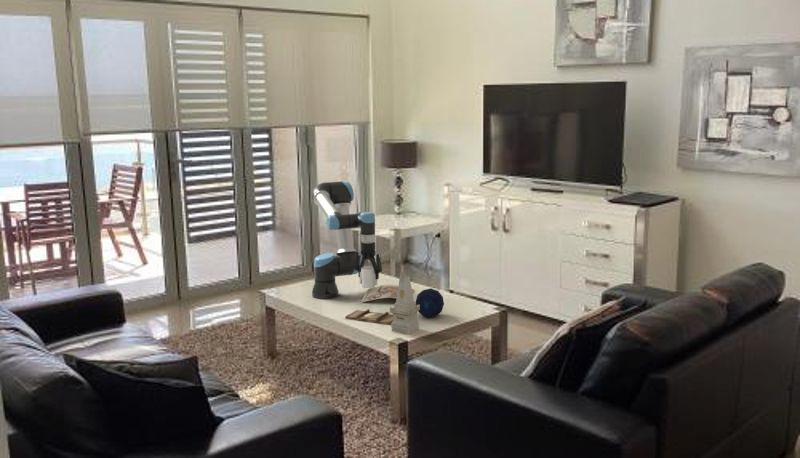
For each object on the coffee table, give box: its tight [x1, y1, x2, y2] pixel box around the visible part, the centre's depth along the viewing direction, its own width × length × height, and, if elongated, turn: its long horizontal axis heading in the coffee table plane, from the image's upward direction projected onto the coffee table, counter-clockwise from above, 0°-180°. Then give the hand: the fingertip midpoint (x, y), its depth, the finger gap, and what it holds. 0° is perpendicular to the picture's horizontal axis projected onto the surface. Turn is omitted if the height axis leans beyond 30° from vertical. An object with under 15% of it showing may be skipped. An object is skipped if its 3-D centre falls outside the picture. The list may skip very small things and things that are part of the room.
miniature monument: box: [389, 269, 420, 335], centre depth 333 cm, size 10×10×30 cm
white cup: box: [361, 265, 376, 289], centre depth 366 cm, size 8×8×10 cm
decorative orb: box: [415, 287, 445, 319], centre depth 355 cm, size 14×15×15 cm
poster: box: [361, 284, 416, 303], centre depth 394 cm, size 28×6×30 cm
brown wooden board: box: [345, 309, 393, 326], centre depth 354 cm, size 25×12×2 cm, turn 64°
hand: (368, 284), depth 367 cm, fingers closed on white cup, 8 cm apart
